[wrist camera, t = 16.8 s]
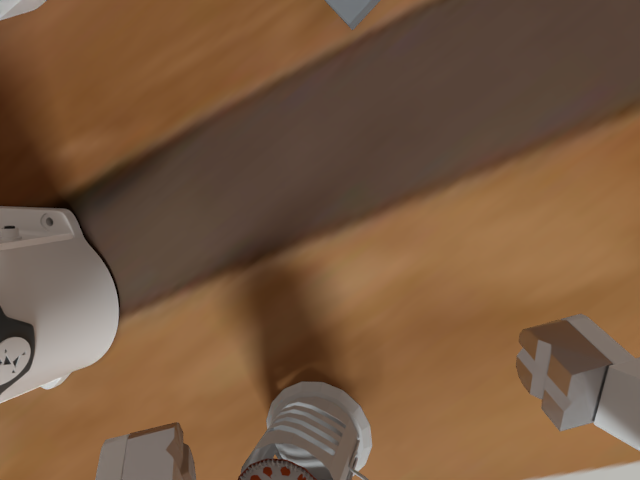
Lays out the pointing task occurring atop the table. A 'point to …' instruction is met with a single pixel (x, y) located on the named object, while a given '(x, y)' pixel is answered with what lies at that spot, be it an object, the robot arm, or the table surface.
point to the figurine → (18, 7)
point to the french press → (311, 437)
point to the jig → (352, 10)
